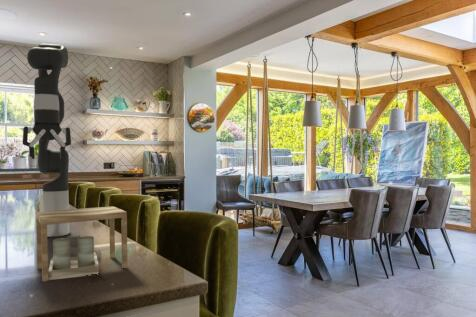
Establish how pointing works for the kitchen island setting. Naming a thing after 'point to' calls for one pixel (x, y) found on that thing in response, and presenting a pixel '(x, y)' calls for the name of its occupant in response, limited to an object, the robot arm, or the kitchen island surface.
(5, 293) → the kitchen island surface
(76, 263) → the tray
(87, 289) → the kitchen island surface
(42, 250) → the oak shelf
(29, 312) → the kitchen island surface
